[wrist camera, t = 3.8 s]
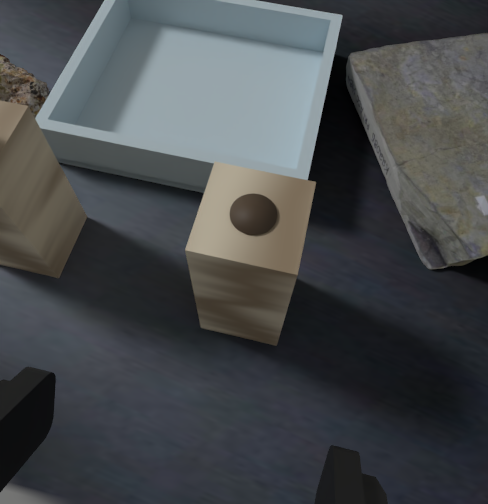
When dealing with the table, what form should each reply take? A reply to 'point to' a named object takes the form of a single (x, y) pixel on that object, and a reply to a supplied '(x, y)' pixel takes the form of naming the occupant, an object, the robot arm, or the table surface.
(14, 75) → the mineral rock
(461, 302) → the table surface
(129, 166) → the tray
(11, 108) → the block
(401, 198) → the fossil
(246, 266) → the block
